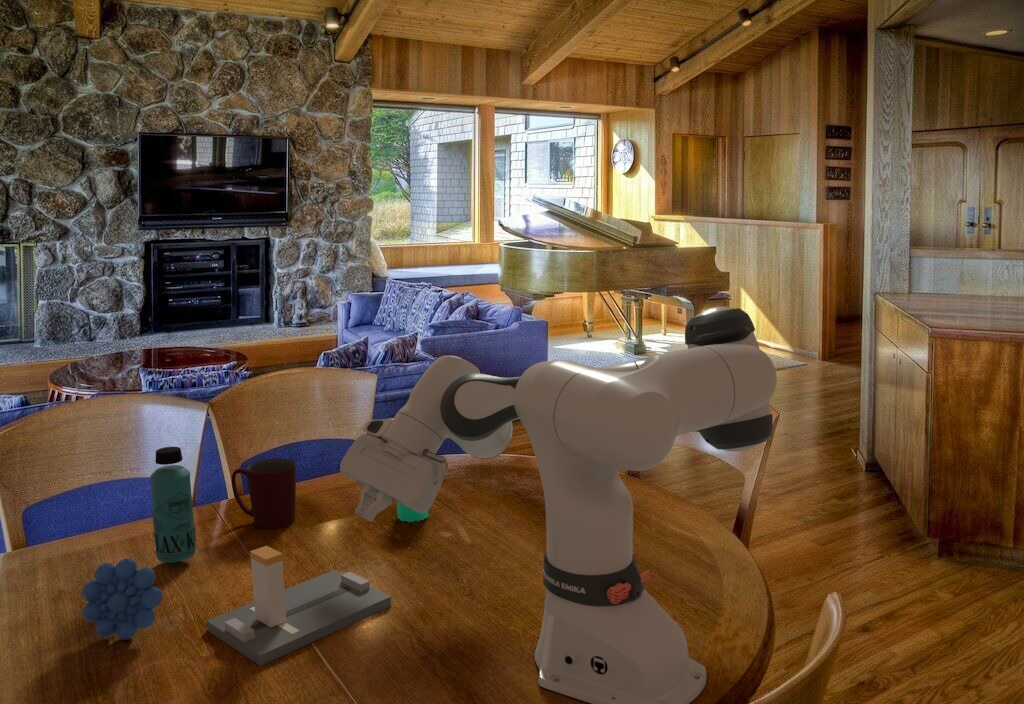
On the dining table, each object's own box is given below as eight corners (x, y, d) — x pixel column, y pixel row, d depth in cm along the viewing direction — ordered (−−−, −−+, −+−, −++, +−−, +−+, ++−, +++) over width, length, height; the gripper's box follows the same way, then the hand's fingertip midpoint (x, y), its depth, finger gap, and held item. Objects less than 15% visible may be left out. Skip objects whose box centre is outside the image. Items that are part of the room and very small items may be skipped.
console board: (391, 605, 127) (390, 589, 127) (260, 666, 112) (259, 647, 111) (335, 578, 137) (334, 562, 136) (207, 630, 121) (205, 612, 120)
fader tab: (286, 620, 120) (282, 553, 118) (270, 627, 118) (265, 559, 116) (270, 611, 123) (266, 545, 121) (254, 618, 121) (249, 551, 119)
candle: (423, 523, 159) (421, 461, 157) (393, 521, 161) (390, 460, 158) (432, 511, 165) (431, 452, 163) (403, 509, 166) (401, 450, 164)
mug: (226, 530, 157) (222, 473, 155) (243, 512, 166) (239, 458, 164) (291, 530, 157) (287, 473, 155) (304, 513, 165) (301, 458, 163)
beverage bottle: (147, 566, 142) (136, 451, 138) (180, 552, 148) (170, 441, 144) (175, 574, 139) (164, 456, 135) (206, 559, 145) (197, 445, 141)
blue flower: (180, 624, 123) (173, 546, 120) (157, 649, 116) (149, 566, 114) (102, 622, 124) (94, 544, 121) (75, 646, 117) (66, 565, 115)
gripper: (463, 469, 133) (416, 548, 128) (384, 436, 147) (338, 506, 142) (441, 450, 128) (391, 530, 124) (361, 418, 142) (314, 489, 138)
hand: (362, 517), depth 133 cm, fingers closed
